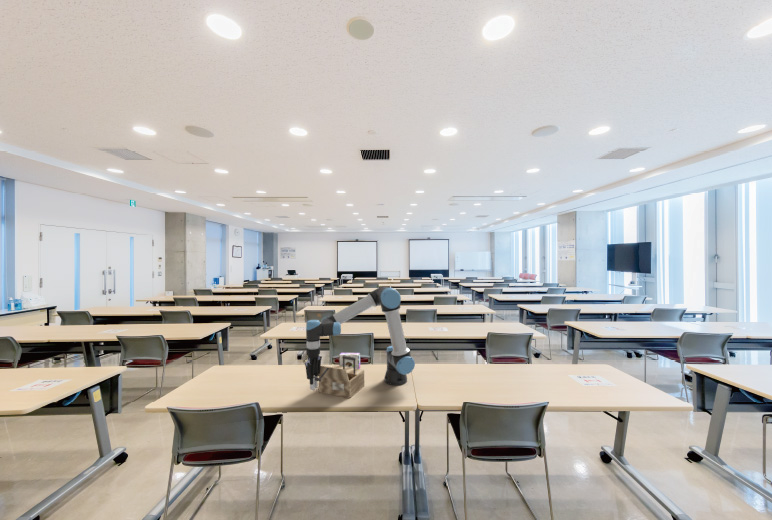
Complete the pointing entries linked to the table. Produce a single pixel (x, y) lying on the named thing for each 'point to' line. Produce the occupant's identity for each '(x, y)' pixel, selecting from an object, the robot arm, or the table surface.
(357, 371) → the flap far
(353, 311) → the robot arm
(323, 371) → the flap near
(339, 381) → the wooden box
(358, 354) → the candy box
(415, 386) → the table surface
